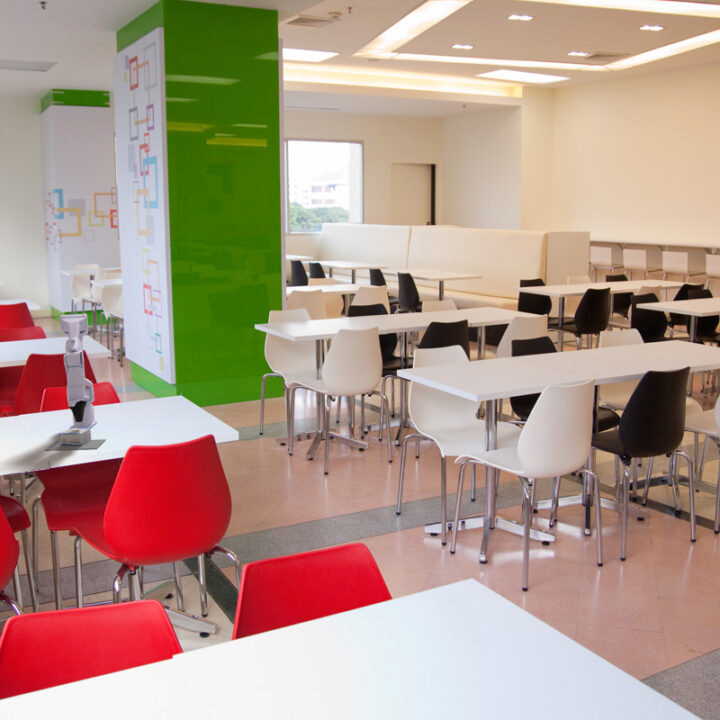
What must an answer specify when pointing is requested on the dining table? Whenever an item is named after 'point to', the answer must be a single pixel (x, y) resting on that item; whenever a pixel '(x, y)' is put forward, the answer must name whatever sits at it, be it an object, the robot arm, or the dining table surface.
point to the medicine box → (75, 436)
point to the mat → (88, 445)
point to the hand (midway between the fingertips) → (79, 421)
